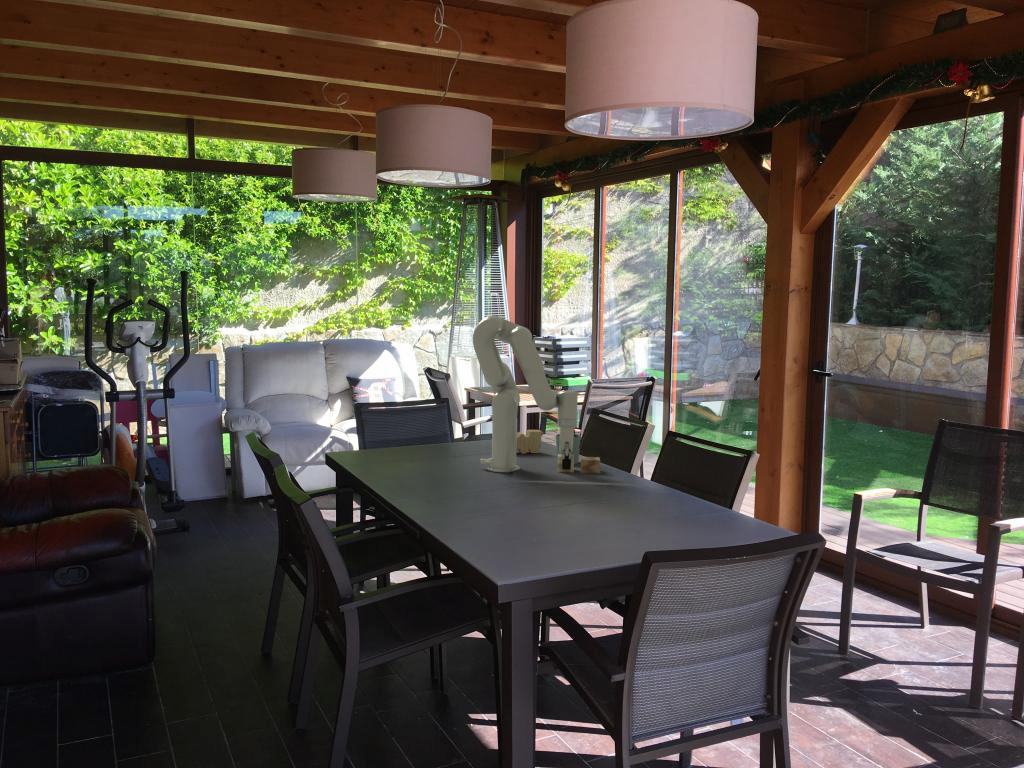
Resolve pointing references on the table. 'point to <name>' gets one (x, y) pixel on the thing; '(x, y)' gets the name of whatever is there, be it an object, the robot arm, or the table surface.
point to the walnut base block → (590, 465)
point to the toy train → (529, 441)
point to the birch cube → (560, 457)
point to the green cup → (575, 447)
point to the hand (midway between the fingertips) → (566, 467)
